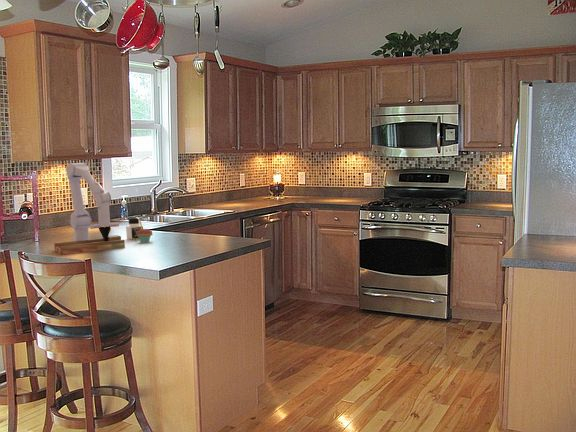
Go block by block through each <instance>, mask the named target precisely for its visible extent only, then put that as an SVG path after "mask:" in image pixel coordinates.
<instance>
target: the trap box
mask: <svg viewBox="0 0 576 432" xmlns="http://www.w3.org/2000/svg"><path fill="white" fill-rule="evenodd" d="M125 242H126V241H125V239H121V240H115V241H106V242H104V240H103V237H101V238H93V239H89V240H82V241H74V240H73V241H64V242H55V243H54V244H53V245H54V252H56V253H58V254H59V255H61V256H63V255H70V254H77V253H78V254H80V253H86V252H97V251H106V250H114V249H123V248H126V247H125V246H126V243H125Z"/></svg>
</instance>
